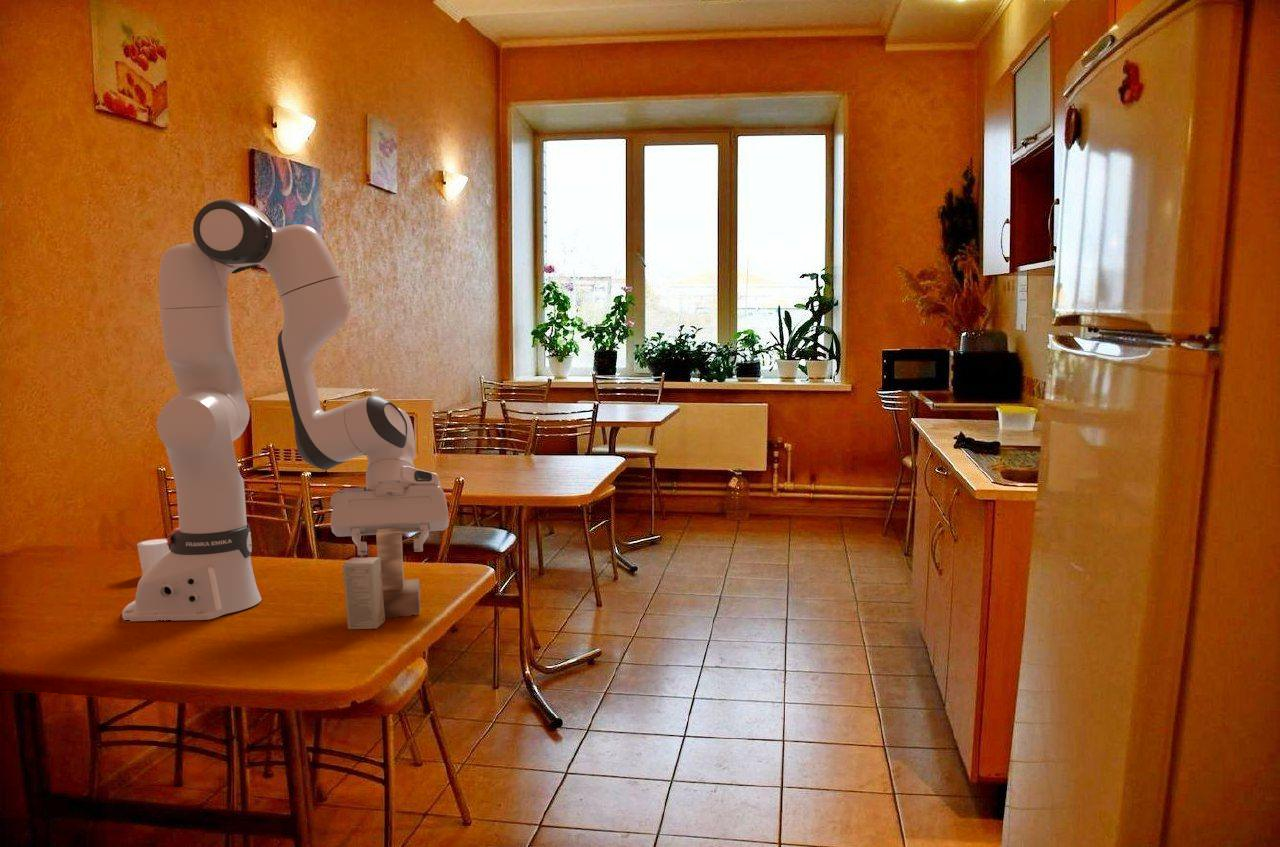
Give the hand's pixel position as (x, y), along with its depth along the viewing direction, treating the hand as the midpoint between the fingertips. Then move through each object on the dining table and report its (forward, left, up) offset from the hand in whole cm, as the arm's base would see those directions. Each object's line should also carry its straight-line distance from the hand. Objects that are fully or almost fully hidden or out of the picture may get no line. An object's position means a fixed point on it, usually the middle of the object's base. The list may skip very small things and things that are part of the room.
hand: (390, 551), depth 173 cm
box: (-4, -8, -11) cm, 14 cm away
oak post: (0, 0, -6) cm, 6 cm away
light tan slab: (0, 0, -10) cm, 10 cm away
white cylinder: (-48, +37, -11) cm, 62 cm away
